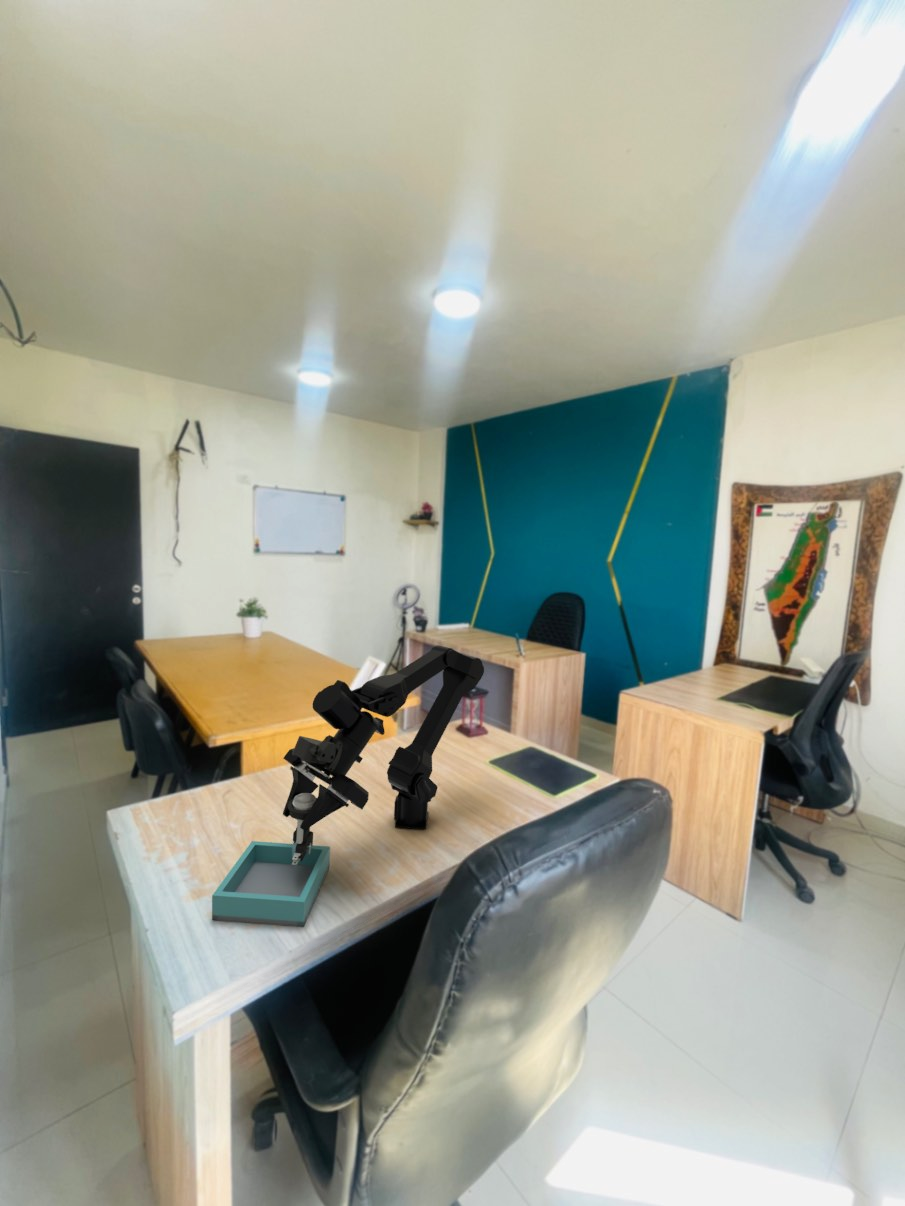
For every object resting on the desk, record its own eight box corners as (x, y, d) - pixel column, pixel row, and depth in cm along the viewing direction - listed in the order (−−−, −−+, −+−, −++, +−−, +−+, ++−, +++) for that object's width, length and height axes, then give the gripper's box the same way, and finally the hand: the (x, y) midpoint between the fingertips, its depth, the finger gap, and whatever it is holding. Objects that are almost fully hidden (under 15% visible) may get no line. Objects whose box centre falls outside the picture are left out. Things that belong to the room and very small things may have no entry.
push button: (309, 869, 82) (313, 812, 80) (277, 866, 82) (280, 809, 81) (321, 845, 88) (324, 792, 87) (291, 841, 88) (294, 788, 87)
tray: (329, 867, 89) (329, 846, 89) (303, 926, 75) (304, 902, 75) (251, 862, 89) (252, 841, 89) (212, 919, 76) (212, 895, 75)
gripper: (293, 704, 92) (234, 781, 85) (356, 734, 79) (292, 826, 72) (329, 735, 98) (276, 808, 91) (392, 766, 86) (336, 853, 79)
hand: (293, 822), depth 83 cm, fingers closed on push button, 5 cm apart
